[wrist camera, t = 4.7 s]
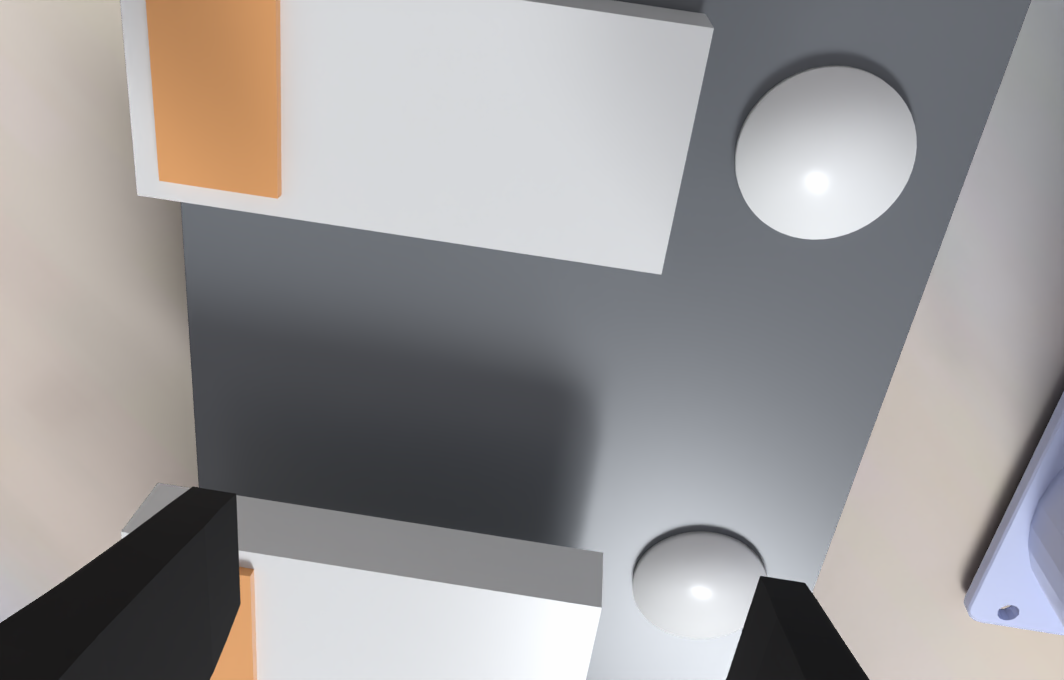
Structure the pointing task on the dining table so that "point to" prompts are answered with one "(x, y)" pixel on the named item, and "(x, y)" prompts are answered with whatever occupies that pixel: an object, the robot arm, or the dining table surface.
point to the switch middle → (424, 117)
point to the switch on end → (399, 599)
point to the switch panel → (625, 333)
